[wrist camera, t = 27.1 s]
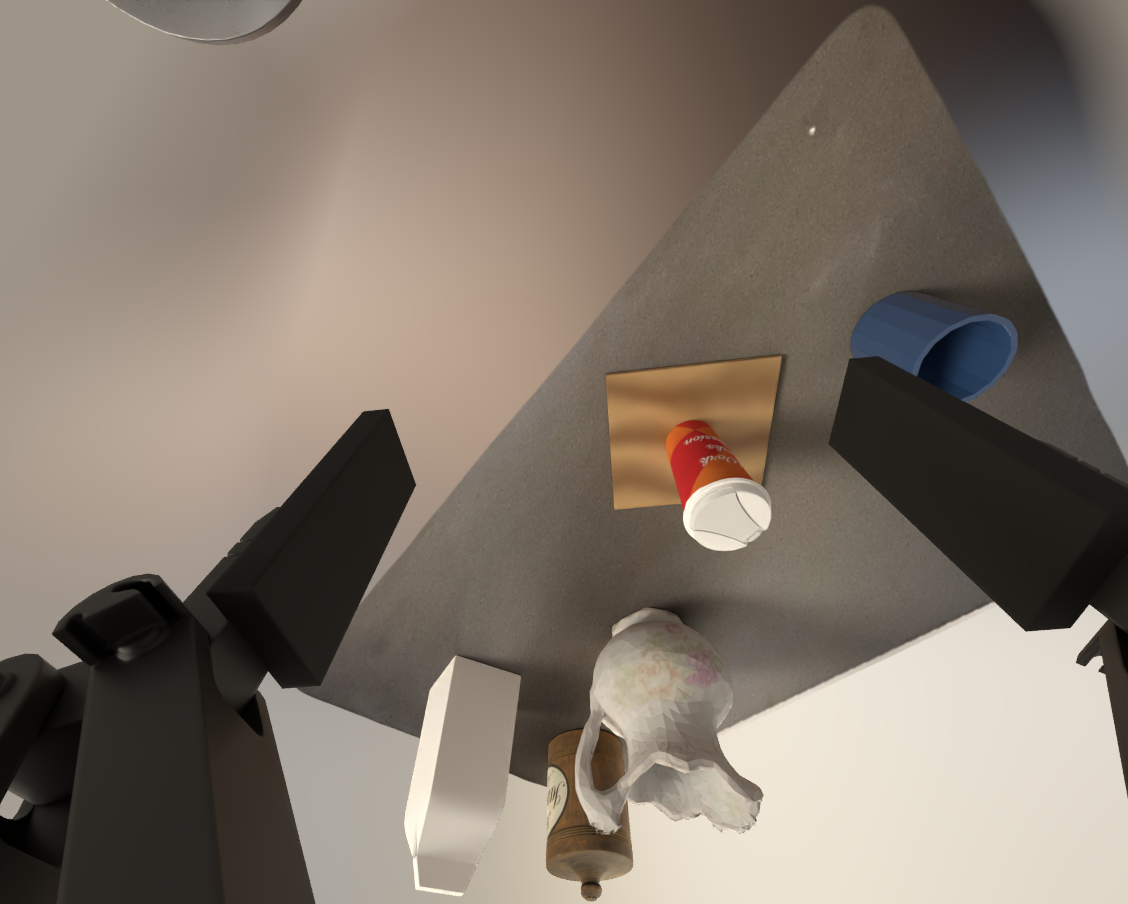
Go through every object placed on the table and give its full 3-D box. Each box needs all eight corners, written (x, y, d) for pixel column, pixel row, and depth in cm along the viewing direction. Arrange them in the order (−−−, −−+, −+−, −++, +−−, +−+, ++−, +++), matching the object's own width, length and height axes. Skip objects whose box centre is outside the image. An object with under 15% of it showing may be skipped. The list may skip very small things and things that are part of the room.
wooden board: (605, 373, 45) (606, 375, 45) (779, 354, 45) (782, 356, 44) (614, 506, 55) (614, 509, 54) (758, 493, 54) (760, 496, 53)
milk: (520, 675, 74) (505, 885, 52) (492, 707, 79) (466, 910, 57) (455, 655, 71) (409, 869, 48) (430, 689, 76) (377, 897, 54)
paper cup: (738, 434, 49) (796, 514, 37) (690, 479, 52) (730, 567, 40) (687, 397, 46) (732, 471, 34) (641, 448, 50) (667, 531, 38)
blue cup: (861, 296, 42) (929, 320, 34) (947, 286, 41) (1036, 309, 34) (842, 374, 46) (899, 411, 38) (920, 365, 45) (994, 402, 38)
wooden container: (541, 731, 84) (536, 888, 65) (617, 724, 83) (635, 882, 64) (555, 766, 91) (554, 916, 73) (624, 760, 90) (642, 911, 72)
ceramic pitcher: (587, 670, 75) (603, 864, 55) (557, 606, 64) (562, 820, 44) (712, 647, 72) (777, 844, 52) (703, 577, 61) (782, 791, 41)
